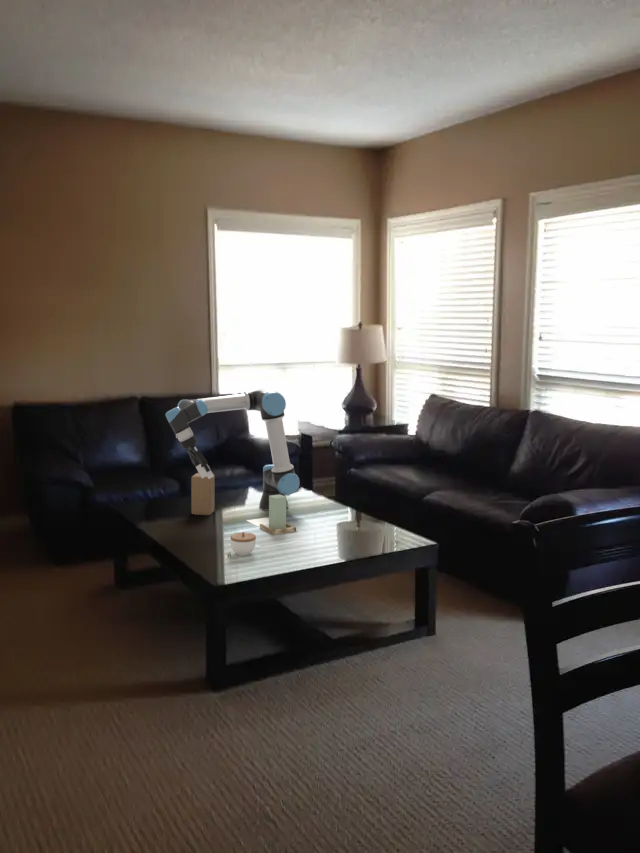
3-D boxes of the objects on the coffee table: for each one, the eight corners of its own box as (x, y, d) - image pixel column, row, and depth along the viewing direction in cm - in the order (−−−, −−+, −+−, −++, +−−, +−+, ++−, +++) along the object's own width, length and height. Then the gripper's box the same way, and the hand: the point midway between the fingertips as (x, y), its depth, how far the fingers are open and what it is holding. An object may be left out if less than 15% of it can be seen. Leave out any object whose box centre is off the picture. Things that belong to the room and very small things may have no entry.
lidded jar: (260, 553, 319) (261, 532, 318) (241, 559, 311) (242, 537, 310) (244, 548, 326) (244, 527, 325) (225, 553, 319) (225, 532, 317)
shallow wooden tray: (282, 525, 363) (282, 520, 363) (296, 532, 352) (296, 527, 352) (259, 529, 357) (259, 523, 356) (273, 536, 346) (273, 530, 345)
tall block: (279, 526, 359) (280, 494, 357) (285, 529, 354) (286, 497, 352) (268, 528, 356) (269, 495, 354) (274, 531, 351) (275, 498, 349)
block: (214, 511, 388) (215, 473, 385) (210, 515, 378) (210, 477, 376) (196, 510, 389) (196, 472, 386) (190, 515, 379) (190, 476, 377)
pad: (267, 518, 376) (267, 517, 376) (279, 524, 366) (279, 523, 366) (246, 521, 369) (246, 520, 369) (257, 527, 359) (257, 526, 359)
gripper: (174, 442, 365) (195, 480, 369) (185, 441, 342) (207, 481, 346) (187, 435, 368) (208, 473, 371) (199, 433, 345) (221, 473, 348)
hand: (207, 477), depth 358 cm, fingers open, 13 cm apart
